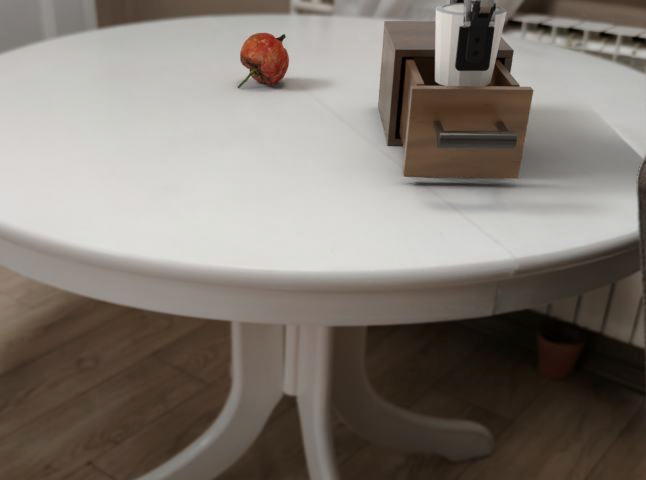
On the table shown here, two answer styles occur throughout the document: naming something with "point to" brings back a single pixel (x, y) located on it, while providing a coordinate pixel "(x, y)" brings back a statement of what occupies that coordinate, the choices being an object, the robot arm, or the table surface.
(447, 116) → the drawer
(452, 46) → the white cup
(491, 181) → the table surface
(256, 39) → the pomegranate
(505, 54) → the cabinet
